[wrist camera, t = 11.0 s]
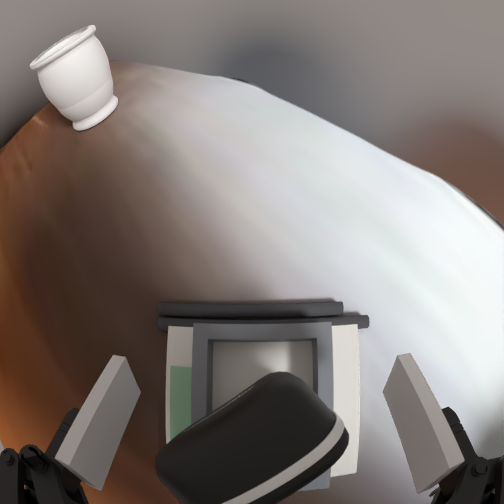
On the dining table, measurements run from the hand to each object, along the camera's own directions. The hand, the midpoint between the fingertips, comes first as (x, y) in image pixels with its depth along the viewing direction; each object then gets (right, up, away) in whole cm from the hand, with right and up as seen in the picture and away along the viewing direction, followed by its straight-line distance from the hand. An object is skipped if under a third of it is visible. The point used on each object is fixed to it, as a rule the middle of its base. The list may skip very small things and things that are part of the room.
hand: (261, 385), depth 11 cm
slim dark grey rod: (0, +1, +9) cm, 9 cm away
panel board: (0, -5, +6) cm, 8 cm away
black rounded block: (0, -5, +5) cm, 7 cm away
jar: (-25, +28, +22) cm, 44 cm away
